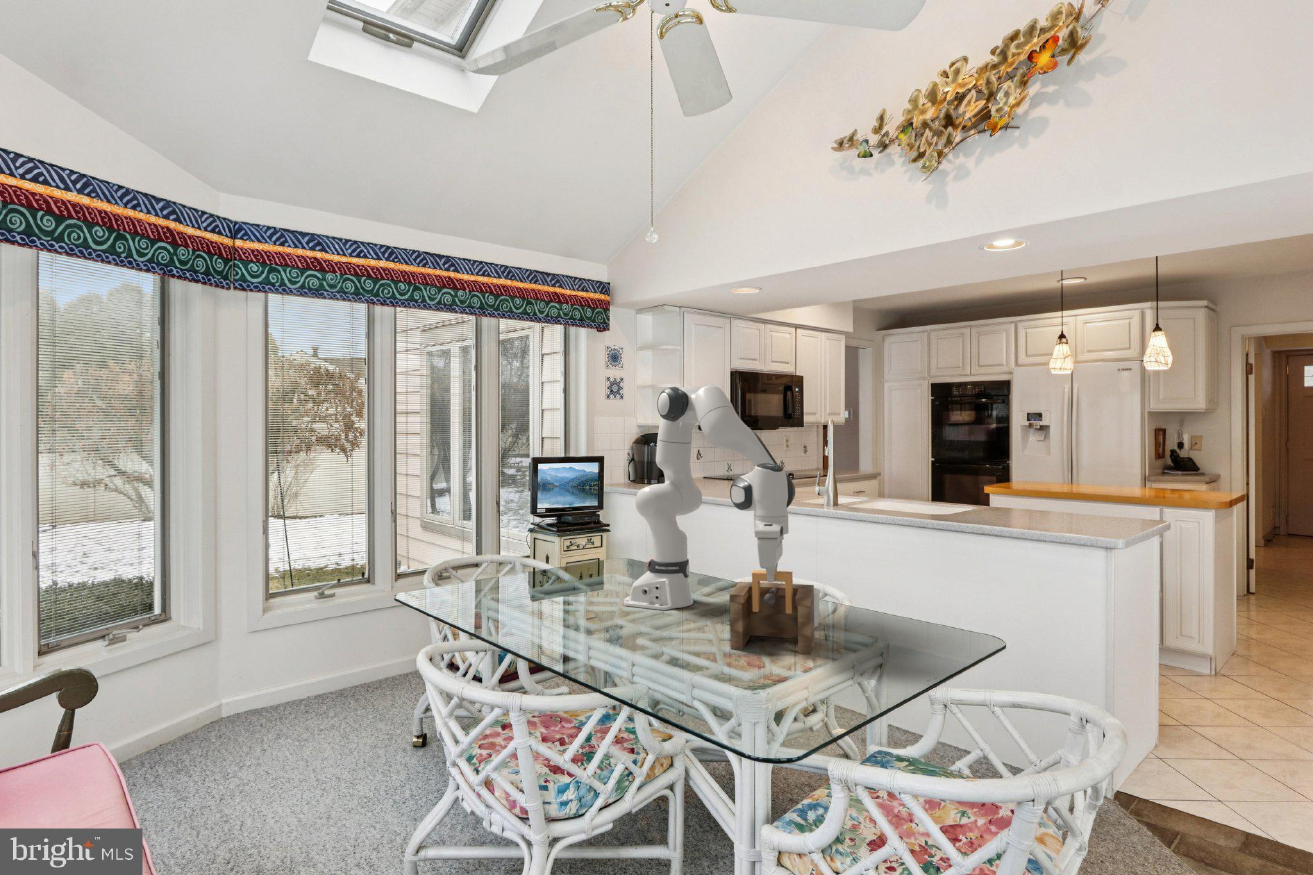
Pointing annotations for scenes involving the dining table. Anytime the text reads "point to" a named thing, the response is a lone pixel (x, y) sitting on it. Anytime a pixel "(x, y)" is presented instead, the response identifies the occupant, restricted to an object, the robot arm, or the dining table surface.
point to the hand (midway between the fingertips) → (772, 579)
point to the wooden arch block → (779, 577)
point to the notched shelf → (772, 614)
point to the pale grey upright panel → (816, 606)
